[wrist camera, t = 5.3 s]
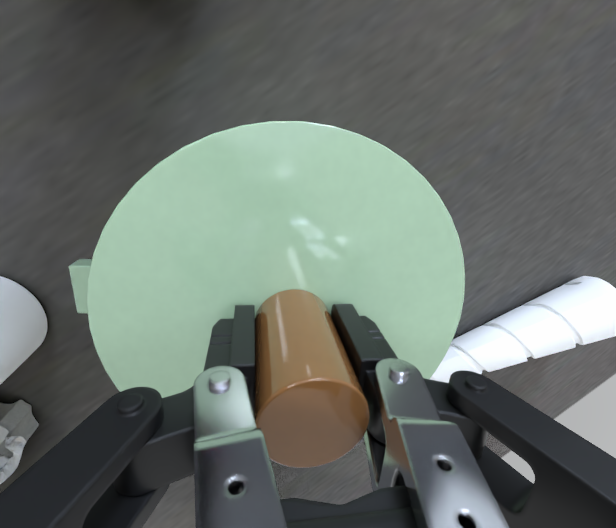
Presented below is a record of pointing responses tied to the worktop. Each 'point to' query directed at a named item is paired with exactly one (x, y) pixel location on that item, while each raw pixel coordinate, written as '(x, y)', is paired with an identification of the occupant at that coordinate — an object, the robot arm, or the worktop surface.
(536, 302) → the unicorn horn
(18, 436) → the egg carton
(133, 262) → the pan lid
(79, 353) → the worktop surface
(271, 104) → the worktop surface
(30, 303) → the can
